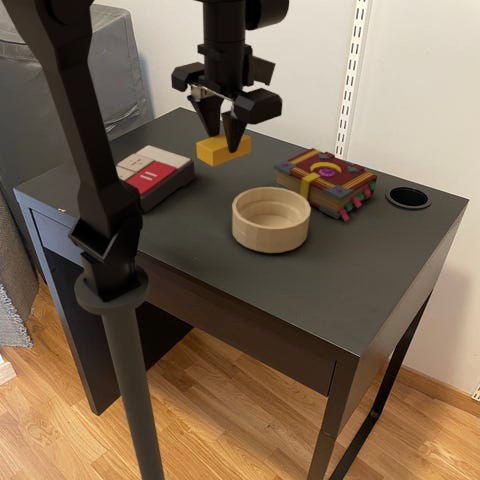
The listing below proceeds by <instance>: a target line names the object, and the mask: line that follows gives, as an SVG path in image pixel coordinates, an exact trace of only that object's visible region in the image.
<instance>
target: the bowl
mask: <svg viewBox="0 0 480 480" xmlns="http://www.w3.org/2000/svg"><path fill="white" fill-rule="evenodd" d="M310 205H311V204H310V203H308V201H307V200H306V199H305V198H304V197H302V196H301V195H299V194H297V193H295V192H293V191H290V190H287V189H283V188H277V187H273V186H260V187H255V188H249V189H248V190H245V191H243V192H241V193H239V194H237V196H236V197H235V198H234V200H233V202H232V204H231V233H232V236H233V237H234V239H235V240H236V241H237V242H238V243H239V244H241V245H242V246H243V247H245V248H248V249H251V250H253V251H256V252H259V253H260V252H261V253H266V254H279V253H284V252H289V251H292V250H295V249H296V248H298V247H300V246H301V245H302V244H303V243H304V242H305V241H306V240H307V236H308V232H309V225H310V219H311V211H312V207H311V206H310Z"/></svg>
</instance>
